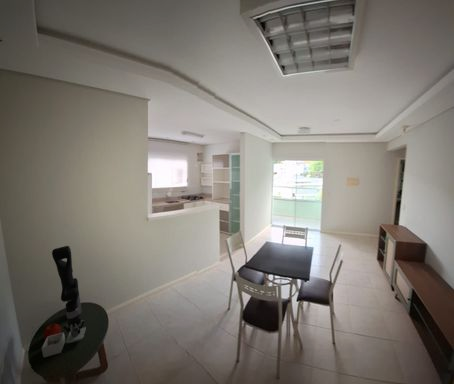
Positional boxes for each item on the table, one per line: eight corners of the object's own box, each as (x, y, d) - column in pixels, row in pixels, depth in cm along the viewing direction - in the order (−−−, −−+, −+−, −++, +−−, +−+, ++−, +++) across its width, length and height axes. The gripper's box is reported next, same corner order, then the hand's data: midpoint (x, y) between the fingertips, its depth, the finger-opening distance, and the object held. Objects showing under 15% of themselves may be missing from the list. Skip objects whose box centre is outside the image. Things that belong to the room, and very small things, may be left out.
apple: (43, 337, 162) (40, 326, 161) (60, 329, 170) (58, 317, 169) (45, 346, 155) (43, 333, 154) (63, 336, 163) (61, 325, 161)
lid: (70, 333, 163) (69, 325, 161) (86, 329, 167) (85, 321, 165) (65, 345, 153) (64, 336, 152) (82, 340, 157) (81, 331, 156)
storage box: (49, 345, 156) (47, 336, 154) (65, 341, 159) (63, 332, 158) (43, 357, 146) (41, 348, 145) (60, 352, 150) (59, 343, 149)
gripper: (85, 308, 162) (88, 327, 165) (63, 313, 157) (66, 333, 160) (82, 315, 156) (85, 335, 159) (59, 320, 150) (63, 341, 153)
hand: (76, 334), depth 159 cm, fingers closed on lid, 3 cm apart
